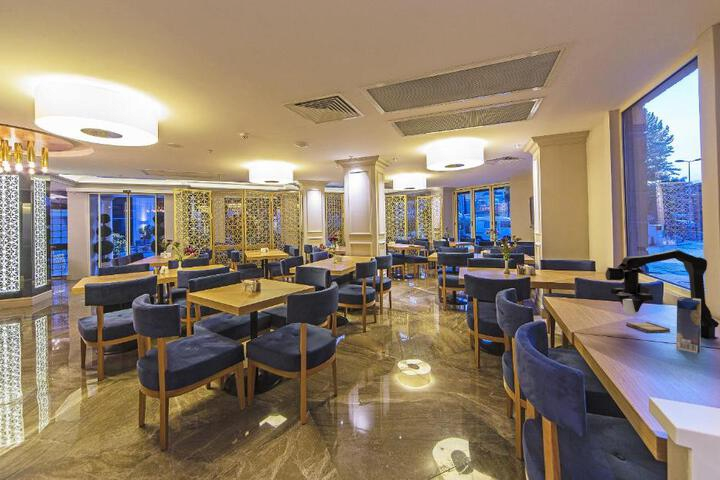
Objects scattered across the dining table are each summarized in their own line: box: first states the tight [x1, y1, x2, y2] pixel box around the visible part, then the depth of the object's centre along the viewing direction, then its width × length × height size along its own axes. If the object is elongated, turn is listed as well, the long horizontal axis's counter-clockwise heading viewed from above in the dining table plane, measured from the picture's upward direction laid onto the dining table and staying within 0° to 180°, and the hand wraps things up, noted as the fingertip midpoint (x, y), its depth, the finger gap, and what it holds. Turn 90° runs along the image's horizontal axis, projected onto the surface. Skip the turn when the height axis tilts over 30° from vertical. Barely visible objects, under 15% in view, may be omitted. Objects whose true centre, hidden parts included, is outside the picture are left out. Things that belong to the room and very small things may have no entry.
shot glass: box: [622, 298, 639, 316], centre depth 159 cm, size 7×7×7 cm
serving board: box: [625, 321, 671, 333], centre depth 163 cm, size 12×12×2 cm
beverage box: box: [675, 296, 702, 354], centre depth 137 cm, size 7×11×22 cm, turn 130°
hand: (630, 310), depth 159 cm, fingers closed on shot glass, 6 cm apart
